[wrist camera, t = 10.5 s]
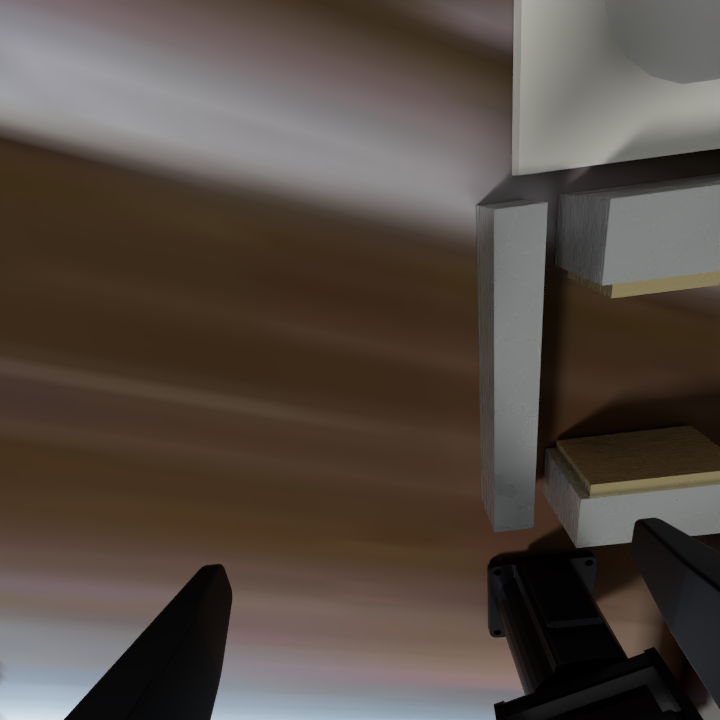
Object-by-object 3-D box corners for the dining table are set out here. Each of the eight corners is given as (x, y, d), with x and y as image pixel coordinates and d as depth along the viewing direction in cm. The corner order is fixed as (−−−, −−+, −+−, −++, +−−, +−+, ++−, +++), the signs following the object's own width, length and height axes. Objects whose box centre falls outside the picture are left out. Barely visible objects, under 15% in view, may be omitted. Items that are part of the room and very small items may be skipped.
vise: (685, 476, 24) (745, 530, 21) (481, 499, 25) (503, 555, 21) (750, 169, 18) (853, 166, 14) (476, 205, 18) (507, 212, 15)
